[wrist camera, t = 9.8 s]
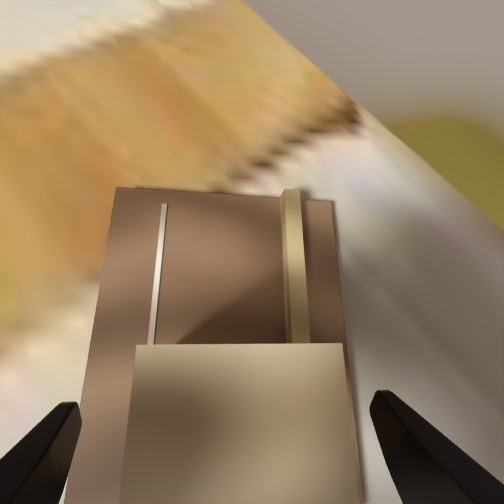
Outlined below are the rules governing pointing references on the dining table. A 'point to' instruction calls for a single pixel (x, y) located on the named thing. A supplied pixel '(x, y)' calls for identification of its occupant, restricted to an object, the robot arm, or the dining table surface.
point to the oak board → (199, 301)
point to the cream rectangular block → (239, 426)
